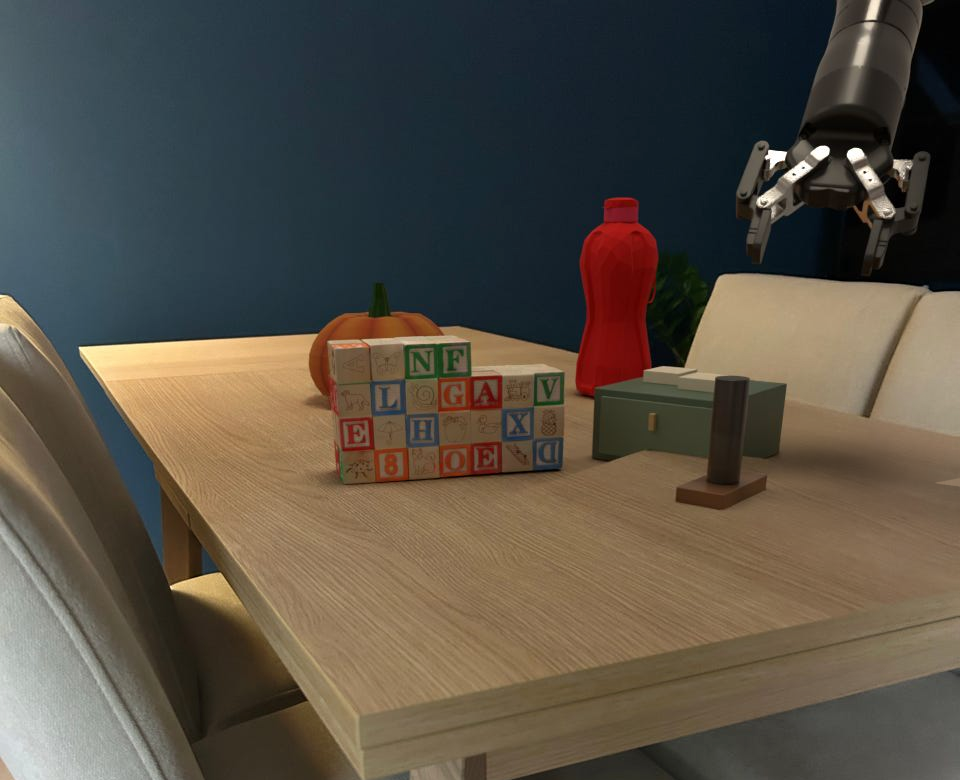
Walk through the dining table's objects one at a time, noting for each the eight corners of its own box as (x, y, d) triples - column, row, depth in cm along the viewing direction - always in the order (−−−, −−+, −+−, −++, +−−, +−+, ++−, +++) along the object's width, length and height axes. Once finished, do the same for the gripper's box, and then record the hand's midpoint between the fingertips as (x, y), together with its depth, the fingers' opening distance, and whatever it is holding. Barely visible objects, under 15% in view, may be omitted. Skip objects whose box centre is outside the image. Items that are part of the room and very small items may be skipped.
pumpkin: (398, 384, 145) (394, 277, 139) (482, 400, 131) (482, 282, 125) (285, 399, 133) (275, 283, 127) (365, 418, 120) (358, 289, 114)
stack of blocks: (544, 456, 99) (546, 331, 94) (563, 470, 93) (567, 337, 89) (334, 469, 94) (325, 338, 89) (341, 485, 89) (333, 345, 84)
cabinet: (779, 452, 100) (787, 383, 98) (714, 479, 90) (721, 403, 87) (659, 436, 108) (664, 372, 106) (587, 459, 98) (589, 388, 95)
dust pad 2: (733, 388, 95) (734, 375, 95) (714, 393, 92) (716, 380, 92) (696, 384, 97) (697, 372, 97) (677, 389, 95) (678, 376, 94)
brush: (718, 502, 82) (731, 370, 78) (763, 510, 80) (778, 374, 76) (673, 524, 77) (684, 381, 72) (719, 533, 74) (733, 386, 70)
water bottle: (669, 395, 134) (683, 197, 124) (604, 402, 129) (614, 196, 119) (628, 387, 141) (639, 198, 132) (566, 393, 136) (571, 198, 127)
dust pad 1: (696, 381, 99) (697, 369, 99) (677, 385, 97) (678, 373, 96) (662, 377, 102) (662, 366, 101) (642, 382, 99) (643, 370, 98)
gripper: (770, 58, 79) (720, 221, 76) (957, 65, 75) (914, 239, 71) (767, 131, 86) (721, 284, 82) (938, 142, 82) (898, 303, 78)
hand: (810, 263), depth 77 cm, fingers open, 8 cm apart
